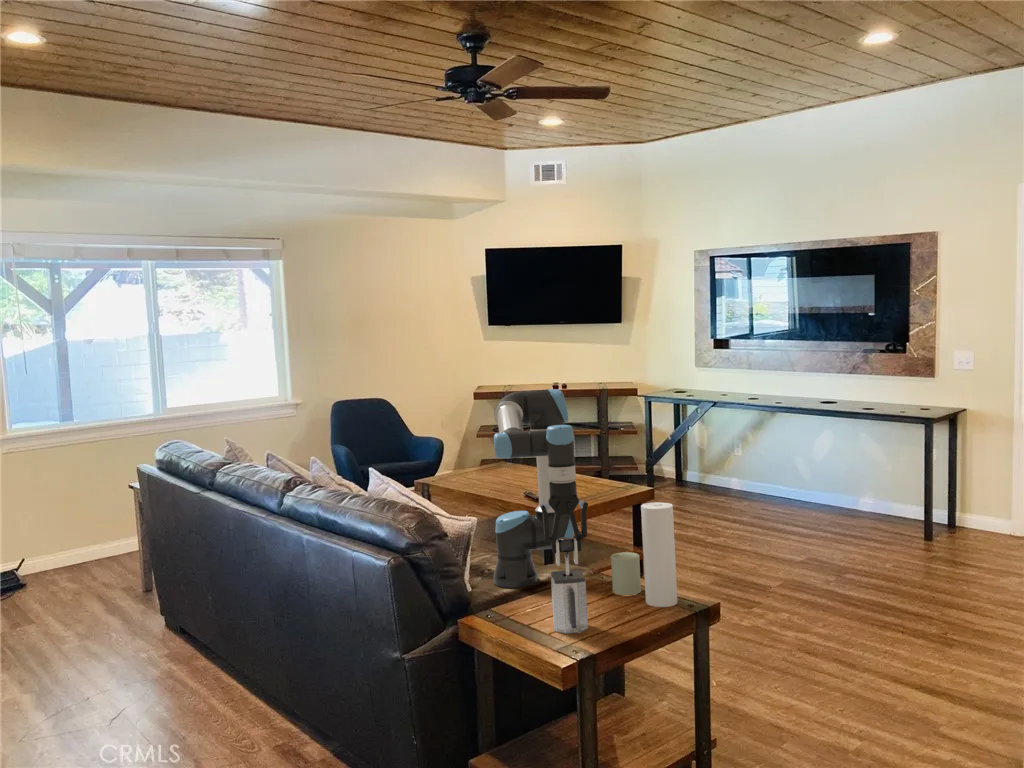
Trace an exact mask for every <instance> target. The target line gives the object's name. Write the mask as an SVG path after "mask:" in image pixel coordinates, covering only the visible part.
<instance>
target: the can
mask: <svg viewBox="0 0 1024 768" xmlns="http://www.w3.org/2000/svg"><path fill="white" fill-rule="evenodd" d="M640 556H641V555H639V554H638V553H636V552H629V551H625V552H616V553H613V554H611V555H610V561H611V563H610V564H611V565H610V566H611V577H612V578H611V581H612V583H611V585H612V590H613V592H614V593H615V594H619V595H633V594H638V593H640V592H641V591H642V584H641V567H640V566H641V565H640V564H641V563H640ZM613 592H612V593H613ZM641 593H642V592H641ZM641 593H640V594H641ZM615 594H614V595H615ZM638 595H639V594H638Z"/></svg>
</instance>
